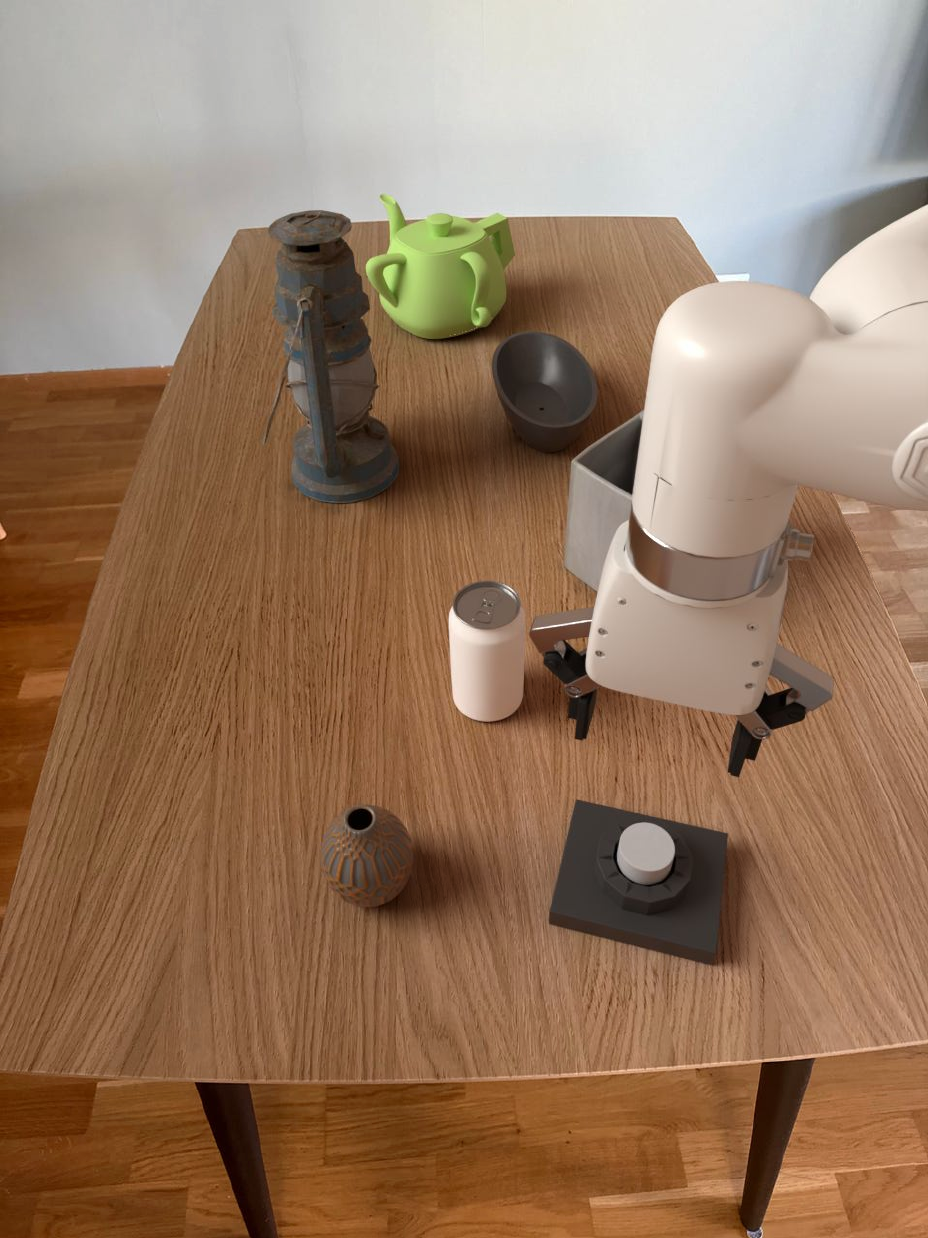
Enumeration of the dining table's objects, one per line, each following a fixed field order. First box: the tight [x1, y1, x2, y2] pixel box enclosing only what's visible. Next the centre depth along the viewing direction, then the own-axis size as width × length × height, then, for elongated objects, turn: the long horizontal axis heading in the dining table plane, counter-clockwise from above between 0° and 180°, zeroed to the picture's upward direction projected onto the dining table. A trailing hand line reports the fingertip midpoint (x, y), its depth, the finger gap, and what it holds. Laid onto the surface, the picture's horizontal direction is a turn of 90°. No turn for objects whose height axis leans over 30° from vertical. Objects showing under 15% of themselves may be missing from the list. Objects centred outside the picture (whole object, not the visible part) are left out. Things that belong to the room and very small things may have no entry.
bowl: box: [491, 330, 599, 454], centre depth 112 cm, size 12×22×6 cm, turn 8°
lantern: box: [261, 209, 400, 504], centre depth 98 cm, size 19×14×30 cm
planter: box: [563, 409, 644, 593], centre depth 88 cm, size 16×8×19 cm, turn 178°
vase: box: [320, 803, 415, 908], centre depth 68 cm, size 7×7×9 cm
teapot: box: [365, 193, 516, 340], centre depth 129 cm, size 19×20×14 cm
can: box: [448, 580, 526, 723], centre depth 79 cm, size 6×6×12 cm
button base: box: [548, 799, 729, 966], centre depth 69 cm, size 12×10×4 cm
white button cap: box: [617, 823, 675, 885], centre depth 67 cm, size 4×4×2 cm
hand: (658, 740), depth 58 cm, fingers open, 9 cm apart
